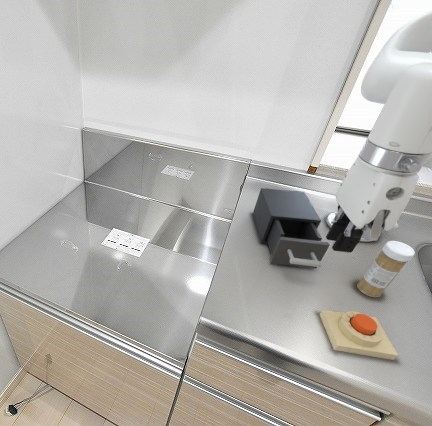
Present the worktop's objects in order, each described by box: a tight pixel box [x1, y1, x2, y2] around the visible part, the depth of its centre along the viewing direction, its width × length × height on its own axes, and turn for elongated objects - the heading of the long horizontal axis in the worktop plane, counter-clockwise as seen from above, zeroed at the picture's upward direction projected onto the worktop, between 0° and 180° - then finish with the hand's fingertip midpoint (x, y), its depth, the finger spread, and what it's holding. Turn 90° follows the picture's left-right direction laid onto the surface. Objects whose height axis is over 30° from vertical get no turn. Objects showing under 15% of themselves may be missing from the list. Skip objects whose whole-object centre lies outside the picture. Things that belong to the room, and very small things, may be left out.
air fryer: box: [252, 187, 322, 245], centre depth 82 cm, size 14×12×10 cm
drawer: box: [266, 219, 330, 269], centre depth 73 cm, size 17×10×8 cm, turn 168°
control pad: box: [318, 309, 399, 361], centre depth 57 cm, size 10×8×4 cm
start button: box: [350, 313, 378, 335], centre depth 56 cm, size 4×4×2 cm
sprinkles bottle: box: [356, 240, 416, 298], centre depth 63 cm, size 5×5×13 cm
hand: (338, 244), depth 55 cm, fingers closed
